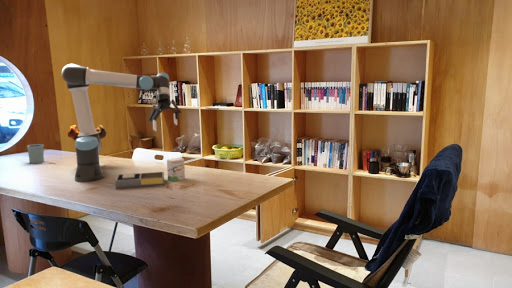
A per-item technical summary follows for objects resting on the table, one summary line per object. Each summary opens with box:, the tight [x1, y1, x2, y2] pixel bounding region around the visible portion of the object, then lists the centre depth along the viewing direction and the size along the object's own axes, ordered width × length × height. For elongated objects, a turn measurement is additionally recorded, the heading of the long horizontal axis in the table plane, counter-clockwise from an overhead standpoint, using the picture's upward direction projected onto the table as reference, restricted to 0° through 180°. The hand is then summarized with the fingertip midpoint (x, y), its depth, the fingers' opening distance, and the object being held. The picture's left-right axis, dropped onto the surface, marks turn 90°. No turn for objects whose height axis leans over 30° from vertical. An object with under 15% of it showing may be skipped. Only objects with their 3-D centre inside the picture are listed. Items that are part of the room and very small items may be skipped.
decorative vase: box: [67, 124, 107, 170], centre depth 254 cm, size 21×23×28 cm
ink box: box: [166, 157, 186, 182], centre depth 219 cm, size 8×5×12 cm, turn 135°
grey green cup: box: [26, 143, 45, 165], centre depth 271 cm, size 10×10×12 cm
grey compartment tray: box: [114, 171, 165, 190], centre depth 210 cm, size 24×14×5 cm, turn 104°
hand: (165, 127), depth 227 cm, fingers open, 13 cm apart
